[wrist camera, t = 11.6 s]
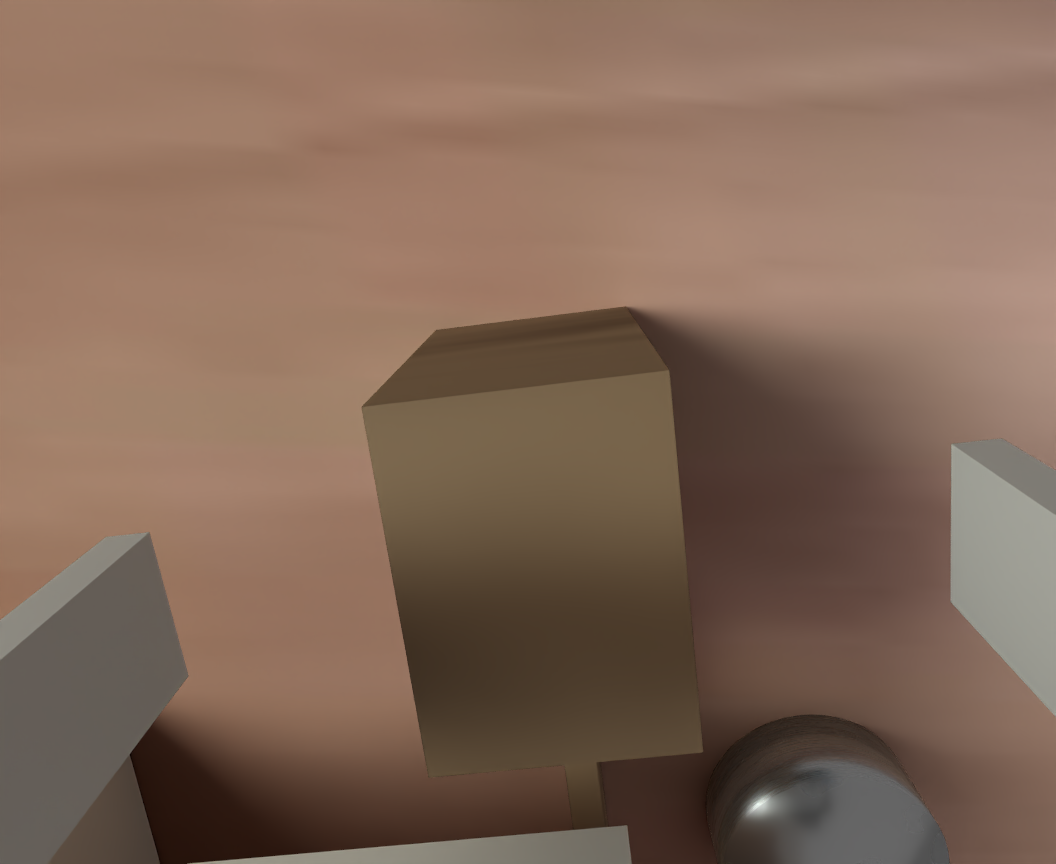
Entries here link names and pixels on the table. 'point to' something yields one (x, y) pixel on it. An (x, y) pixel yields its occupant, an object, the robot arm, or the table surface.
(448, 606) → the tan block on stick
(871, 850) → the shiny grey metal dome
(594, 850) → the shelf cabinet
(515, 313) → the table surface
